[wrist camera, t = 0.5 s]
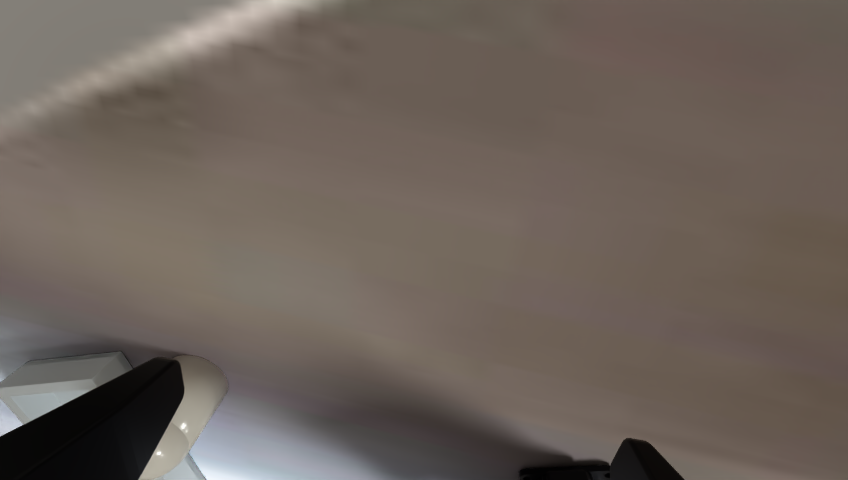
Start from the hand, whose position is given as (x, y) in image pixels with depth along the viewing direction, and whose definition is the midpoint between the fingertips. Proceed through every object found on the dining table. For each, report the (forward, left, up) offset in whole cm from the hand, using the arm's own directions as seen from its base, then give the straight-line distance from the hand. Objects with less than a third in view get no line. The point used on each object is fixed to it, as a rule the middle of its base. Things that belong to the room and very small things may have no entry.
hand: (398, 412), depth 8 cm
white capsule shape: (-11, +19, -14) cm, 26 cm away
